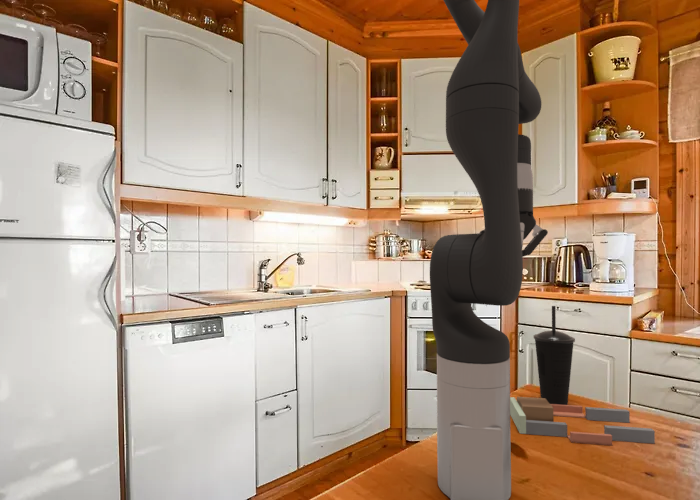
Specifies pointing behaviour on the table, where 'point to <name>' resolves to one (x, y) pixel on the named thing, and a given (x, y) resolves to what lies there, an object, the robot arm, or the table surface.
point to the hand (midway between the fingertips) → (512, 277)
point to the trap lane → (592, 414)
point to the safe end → (518, 415)
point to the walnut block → (536, 408)
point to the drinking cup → (554, 363)
